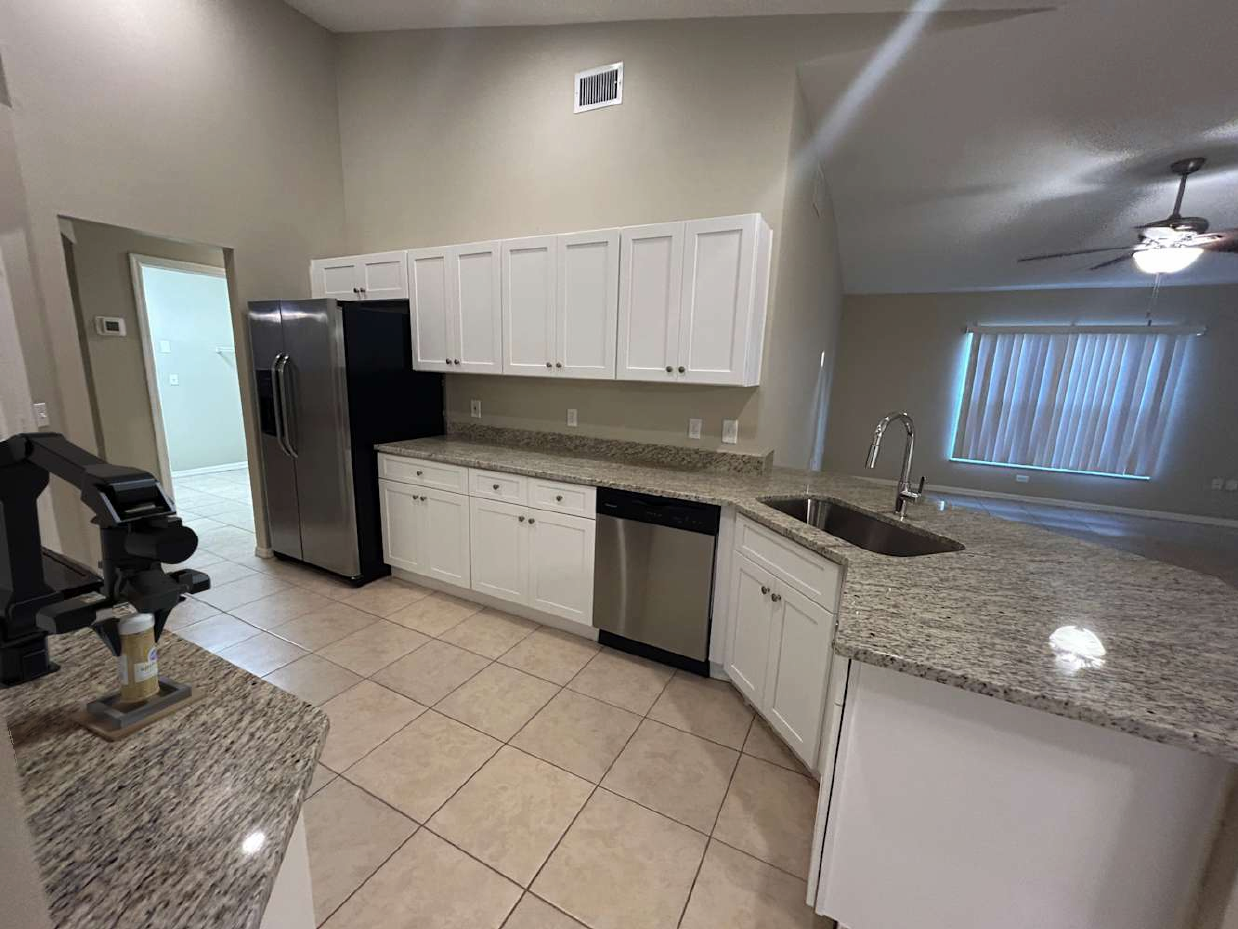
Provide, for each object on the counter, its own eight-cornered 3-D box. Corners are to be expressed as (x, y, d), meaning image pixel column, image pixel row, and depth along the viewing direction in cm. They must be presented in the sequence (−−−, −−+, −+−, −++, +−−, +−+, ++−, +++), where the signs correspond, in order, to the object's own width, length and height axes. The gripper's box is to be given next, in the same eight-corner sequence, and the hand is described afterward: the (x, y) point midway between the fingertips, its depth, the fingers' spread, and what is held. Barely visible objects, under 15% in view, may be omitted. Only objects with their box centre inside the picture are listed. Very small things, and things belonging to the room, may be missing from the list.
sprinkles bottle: (156, 699, 78) (150, 619, 76) (116, 708, 75) (108, 625, 73) (162, 684, 82) (156, 608, 80) (124, 692, 79) (117, 613, 77)
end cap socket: (68, 718, 75) (67, 706, 75) (163, 678, 86) (163, 667, 86) (114, 741, 71) (113, 729, 71) (208, 696, 82) (207, 685, 82)
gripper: (73, 584, 64) (84, 695, 66) (230, 546, 81) (234, 635, 83) (28, 569, 68) (40, 674, 70) (187, 535, 85) (192, 620, 87)
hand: (136, 649), depth 77 cm, fingers closed on sprinkles bottle, 4 cm apart
